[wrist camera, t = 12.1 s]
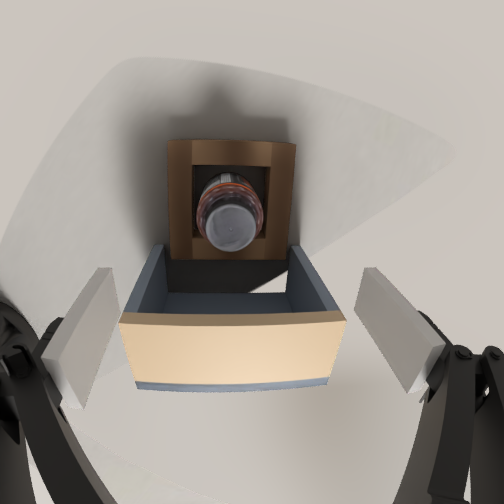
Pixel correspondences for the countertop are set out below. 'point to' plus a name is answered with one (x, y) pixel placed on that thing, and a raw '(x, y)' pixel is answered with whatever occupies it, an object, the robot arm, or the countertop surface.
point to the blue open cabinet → (231, 333)
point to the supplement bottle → (229, 212)
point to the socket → (230, 153)
